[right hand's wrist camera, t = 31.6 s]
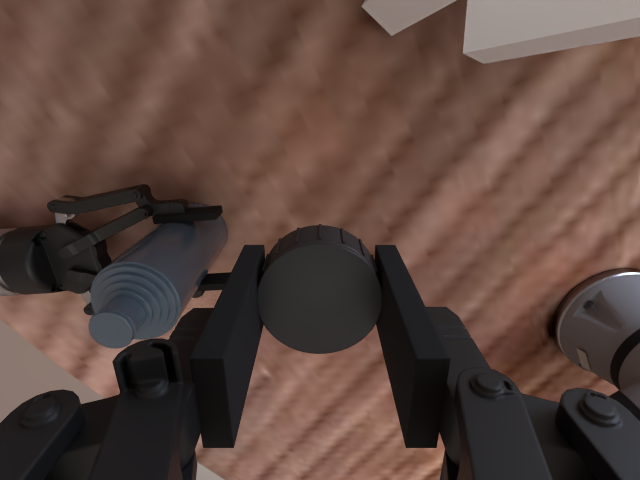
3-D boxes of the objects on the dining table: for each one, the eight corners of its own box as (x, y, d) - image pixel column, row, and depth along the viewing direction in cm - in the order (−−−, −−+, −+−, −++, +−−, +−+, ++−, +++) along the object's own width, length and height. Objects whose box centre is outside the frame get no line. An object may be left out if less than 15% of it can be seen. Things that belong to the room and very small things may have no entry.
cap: (308, 342, 16) (306, 374, 14) (238, 266, 14) (227, 290, 13) (397, 287, 15) (408, 314, 13) (331, 200, 13) (333, 216, 12)
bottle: (157, 235, 47) (41, 337, 28) (187, 190, 45) (85, 267, 25) (207, 268, 49) (131, 386, 29) (239, 226, 47) (179, 324, 27)
